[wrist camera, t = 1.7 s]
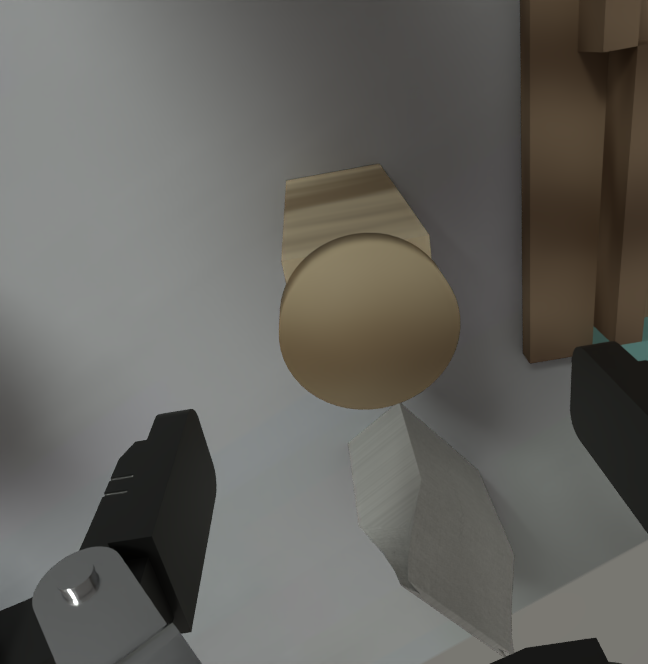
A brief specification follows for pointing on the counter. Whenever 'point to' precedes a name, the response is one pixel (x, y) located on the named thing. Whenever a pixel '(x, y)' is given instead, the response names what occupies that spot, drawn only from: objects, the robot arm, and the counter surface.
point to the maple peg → (361, 292)
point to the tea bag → (434, 524)
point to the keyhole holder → (584, 175)
